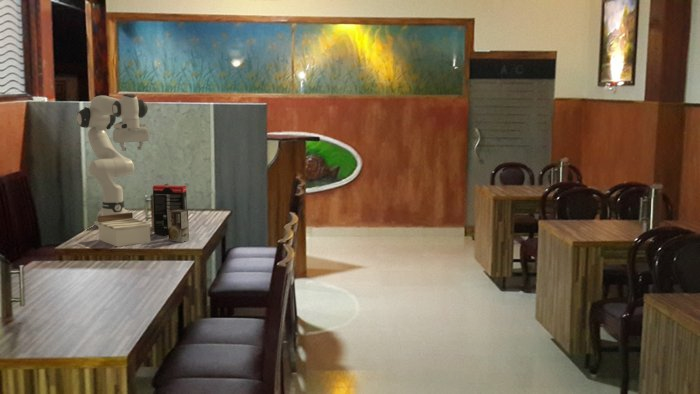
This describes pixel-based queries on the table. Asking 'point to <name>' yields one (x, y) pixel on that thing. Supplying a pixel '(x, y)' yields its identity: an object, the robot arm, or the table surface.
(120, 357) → the table surface
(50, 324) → the table surface
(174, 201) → the graphics card box
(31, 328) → the table surface
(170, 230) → the coffee box
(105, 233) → the gift box base
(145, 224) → the box lid
